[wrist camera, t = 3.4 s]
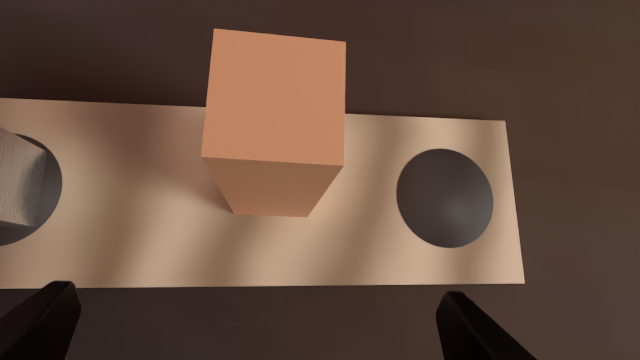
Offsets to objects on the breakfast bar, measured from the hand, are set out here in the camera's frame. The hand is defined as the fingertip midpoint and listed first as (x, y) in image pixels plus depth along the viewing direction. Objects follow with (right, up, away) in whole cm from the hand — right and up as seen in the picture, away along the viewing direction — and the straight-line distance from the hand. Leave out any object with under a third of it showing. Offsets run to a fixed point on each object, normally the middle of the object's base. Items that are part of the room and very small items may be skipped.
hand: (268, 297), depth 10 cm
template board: (-3, +2, +13) cm, 13 cm away
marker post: (-1, +3, +12) cm, 13 cm away
